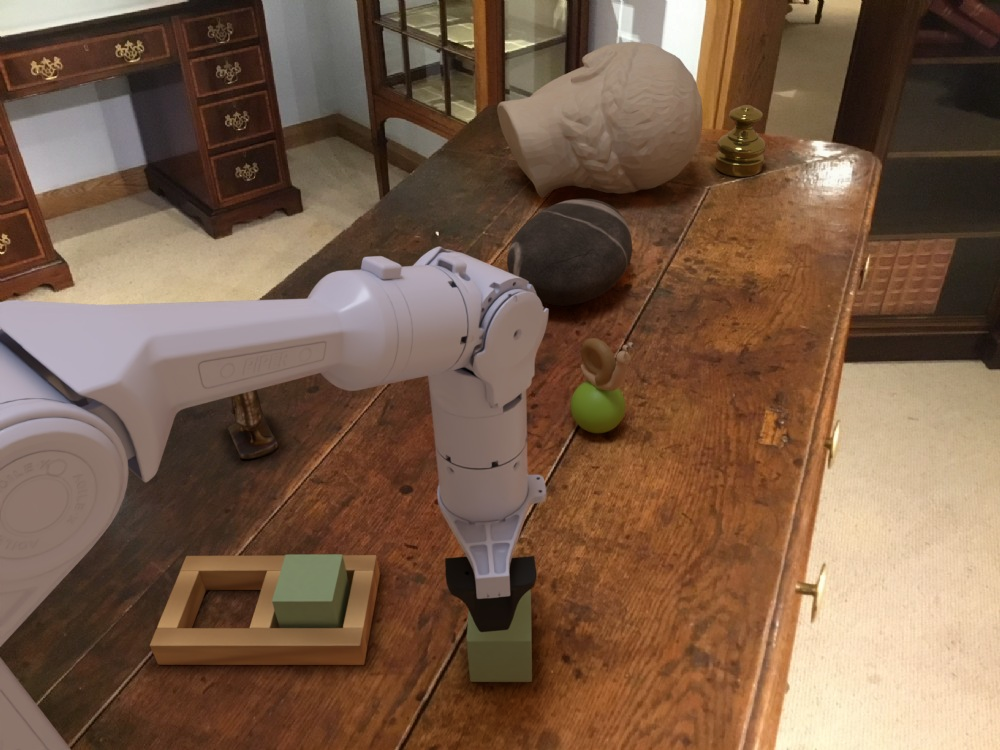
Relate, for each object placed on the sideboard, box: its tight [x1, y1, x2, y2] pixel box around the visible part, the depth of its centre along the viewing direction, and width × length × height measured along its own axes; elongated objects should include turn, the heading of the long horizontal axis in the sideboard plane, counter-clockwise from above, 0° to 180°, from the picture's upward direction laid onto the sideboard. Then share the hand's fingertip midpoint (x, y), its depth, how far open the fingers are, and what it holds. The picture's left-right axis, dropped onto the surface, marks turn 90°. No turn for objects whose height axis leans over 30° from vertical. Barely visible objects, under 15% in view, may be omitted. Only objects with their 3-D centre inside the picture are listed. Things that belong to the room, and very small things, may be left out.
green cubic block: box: [272, 553, 350, 628], centre depth 67 cm, size 5×5×5 cm
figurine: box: [227, 389, 279, 460], centre depth 81 cm, size 7×4×15 cm, turn 28°
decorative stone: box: [506, 198, 633, 307], centre depth 106 cm, size 19×14×10 cm
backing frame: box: [149, 554, 381, 666], centre depth 68 cm, size 9×16×2 cm, turn 89°
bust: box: [496, 41, 704, 199], centre depth 127 cm, size 21×24×30 cm
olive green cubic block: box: [466, 589, 533, 683], centre depth 64 cm, size 5×5×5 cm
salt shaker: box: [714, 104, 767, 178], centre depth 133 cm, size 7×7×10 cm
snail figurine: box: [570, 337, 634, 434], centre depth 82 cm, size 5×6×12 cm
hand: (489, 582), depth 61 cm, fingers open, 7 cm apart
